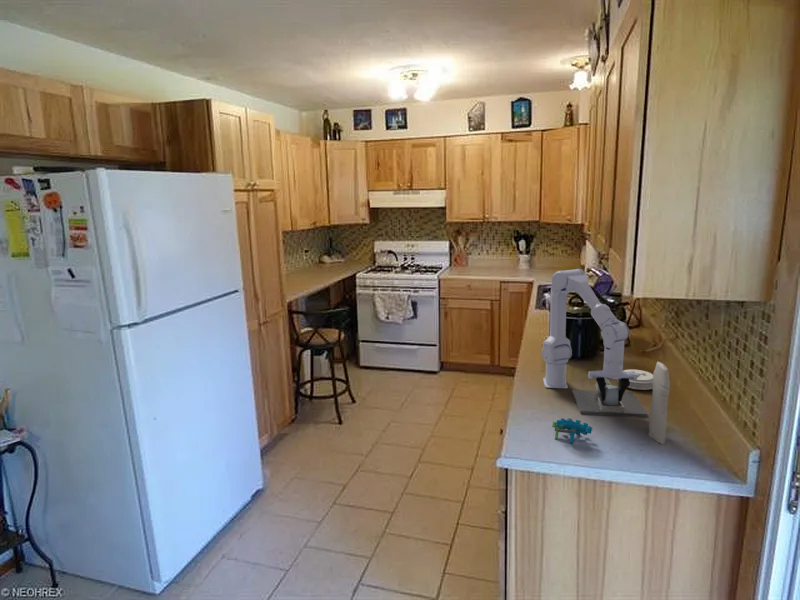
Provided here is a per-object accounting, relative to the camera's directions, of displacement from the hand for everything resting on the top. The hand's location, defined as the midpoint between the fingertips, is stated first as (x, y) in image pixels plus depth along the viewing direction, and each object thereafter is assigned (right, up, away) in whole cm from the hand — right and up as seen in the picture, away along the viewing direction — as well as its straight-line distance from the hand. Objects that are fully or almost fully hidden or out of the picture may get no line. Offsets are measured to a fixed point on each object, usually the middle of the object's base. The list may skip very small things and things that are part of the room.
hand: (610, 399), depth 162 cm
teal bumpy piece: (-19, -8, -18) cm, 27 cm away
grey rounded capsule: (0, -2, 0) cm, 2 cm away
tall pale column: (+6, -7, -18) cm, 20 cm away
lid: (+18, +1, +21) cm, 28 cm away
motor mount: (+1, -2, +5) cm, 6 cm away
